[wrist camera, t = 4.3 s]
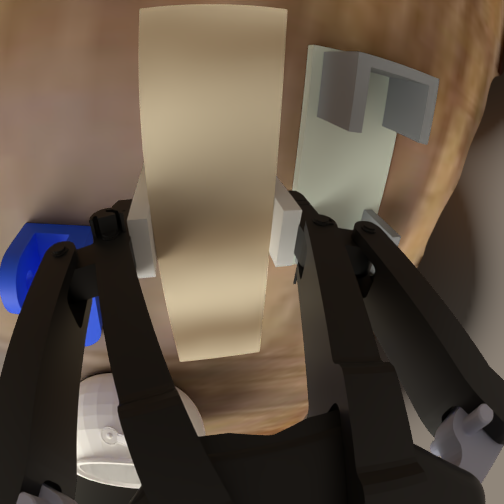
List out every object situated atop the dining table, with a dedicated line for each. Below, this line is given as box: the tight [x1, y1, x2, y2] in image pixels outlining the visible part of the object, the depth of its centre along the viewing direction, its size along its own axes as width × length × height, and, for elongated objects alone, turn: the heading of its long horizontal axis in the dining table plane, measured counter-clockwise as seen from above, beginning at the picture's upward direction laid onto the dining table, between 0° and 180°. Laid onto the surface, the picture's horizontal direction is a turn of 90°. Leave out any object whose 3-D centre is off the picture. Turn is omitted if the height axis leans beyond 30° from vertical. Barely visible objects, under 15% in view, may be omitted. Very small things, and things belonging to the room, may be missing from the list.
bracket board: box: [292, 45, 439, 274], centre depth 27 cm, size 24×11×7 cm, turn 176°
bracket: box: [0, 223, 103, 346], centre depth 28 cm, size 18×8×9 cm, turn 167°
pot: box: [77, 373, 205, 488], centre depth 42 cm, size 29×26×16 cm
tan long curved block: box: [139, 4, 287, 362], centre depth 15 cm, size 18×5×6 cm, turn 178°
